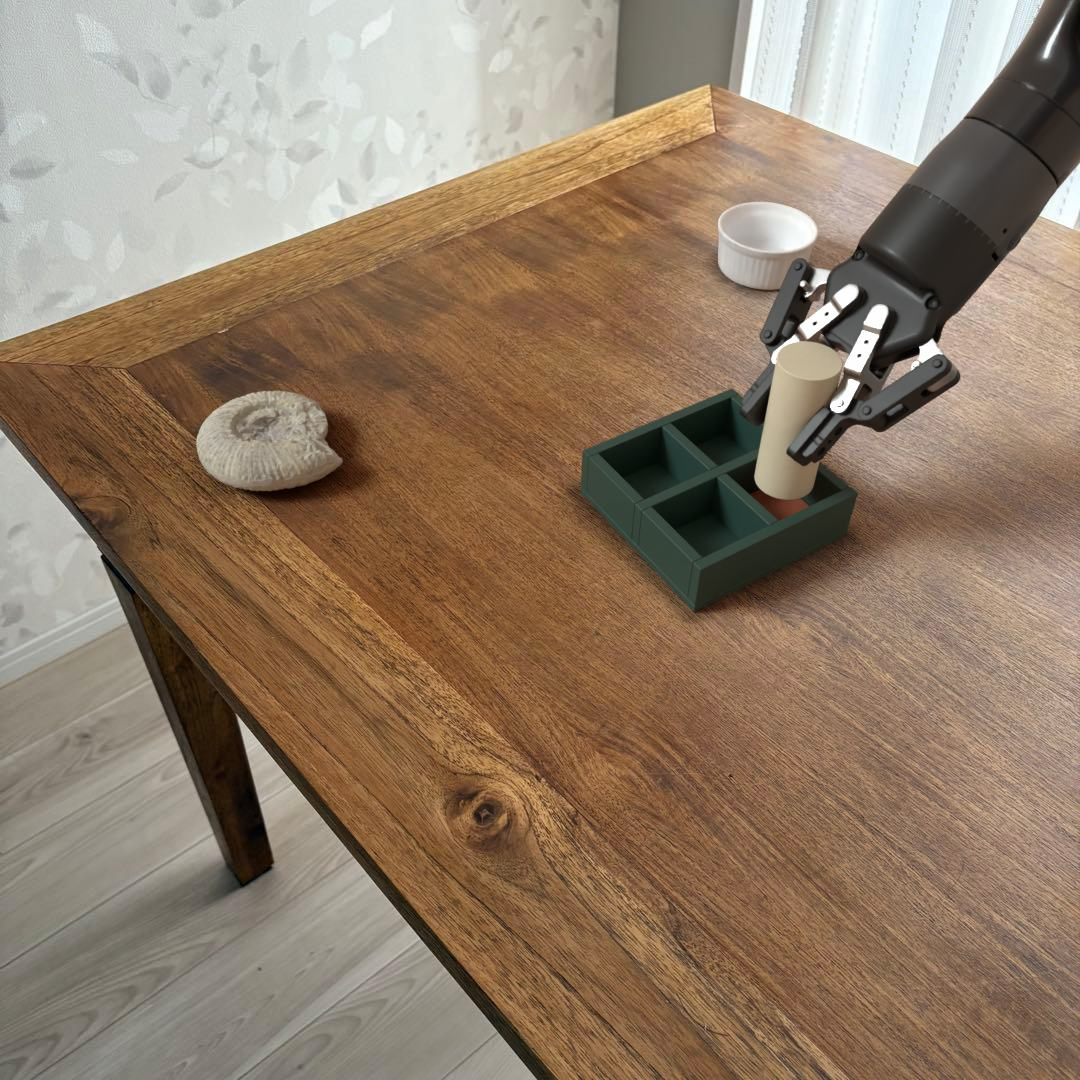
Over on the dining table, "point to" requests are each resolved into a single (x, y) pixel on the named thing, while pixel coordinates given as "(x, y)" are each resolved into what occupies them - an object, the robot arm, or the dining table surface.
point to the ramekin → (763, 242)
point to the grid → (708, 501)
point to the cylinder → (794, 415)
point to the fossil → (267, 442)
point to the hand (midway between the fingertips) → (772, 439)
